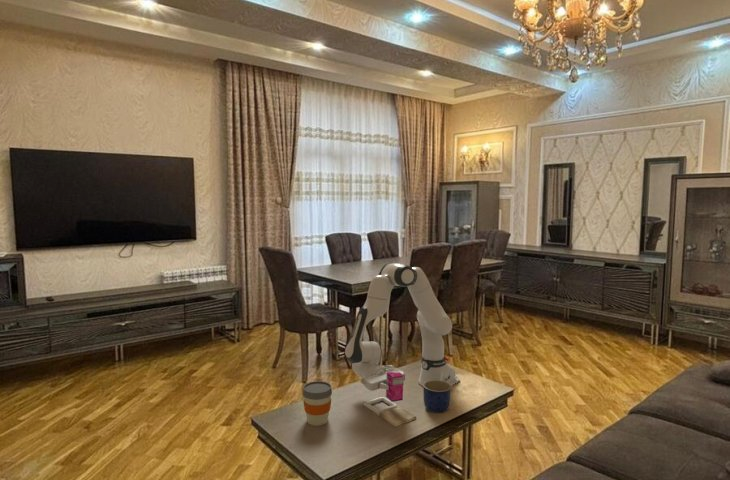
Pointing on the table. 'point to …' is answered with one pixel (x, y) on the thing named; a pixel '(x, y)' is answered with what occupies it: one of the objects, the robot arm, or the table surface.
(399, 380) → the supplement box
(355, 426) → the table surface
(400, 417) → the board
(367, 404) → the square tray
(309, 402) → the reusable coffee cup
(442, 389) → the planter
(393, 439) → the table surface
